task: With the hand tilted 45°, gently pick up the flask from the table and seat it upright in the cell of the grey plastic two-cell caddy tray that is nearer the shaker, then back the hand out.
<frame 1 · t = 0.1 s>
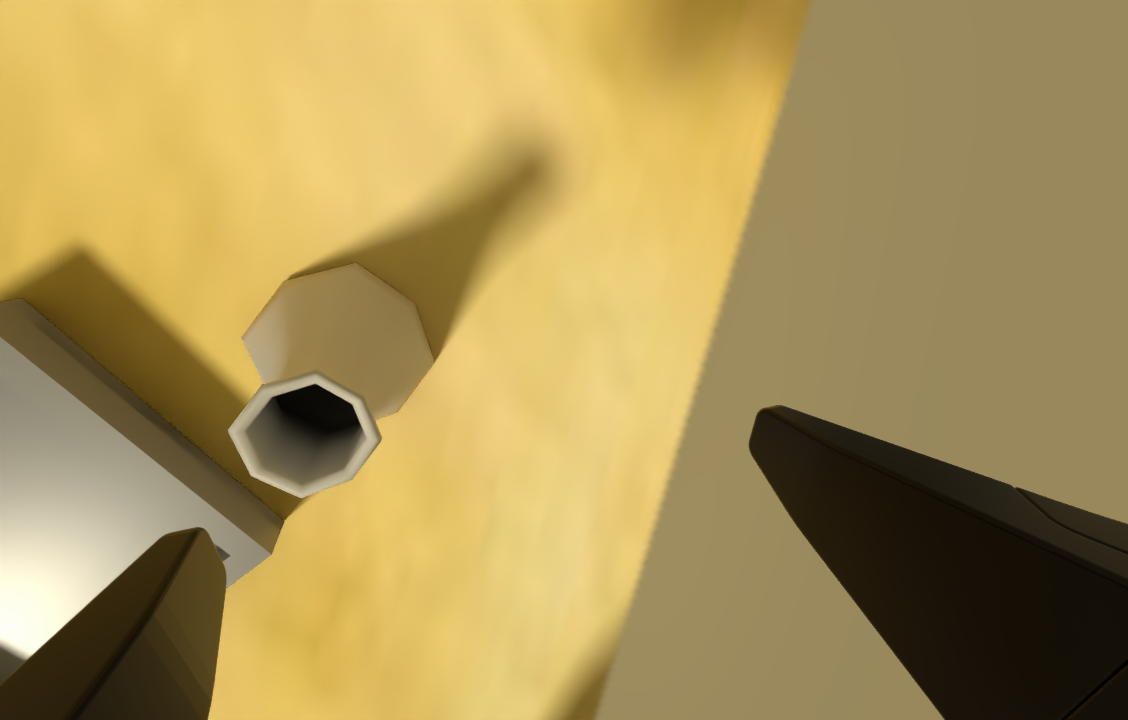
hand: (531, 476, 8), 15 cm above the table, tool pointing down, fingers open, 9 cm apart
flask: (345, 348, 21), on the table
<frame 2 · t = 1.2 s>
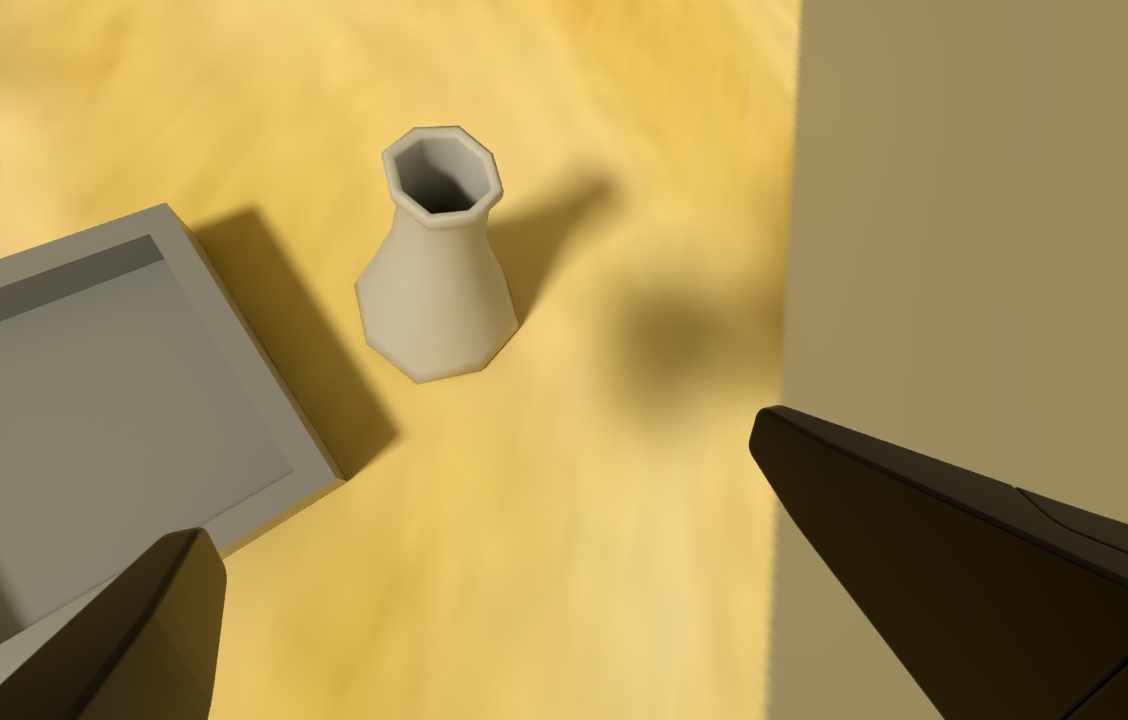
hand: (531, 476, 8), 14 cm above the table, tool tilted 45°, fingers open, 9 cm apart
flask: (439, 310, 22), on the table
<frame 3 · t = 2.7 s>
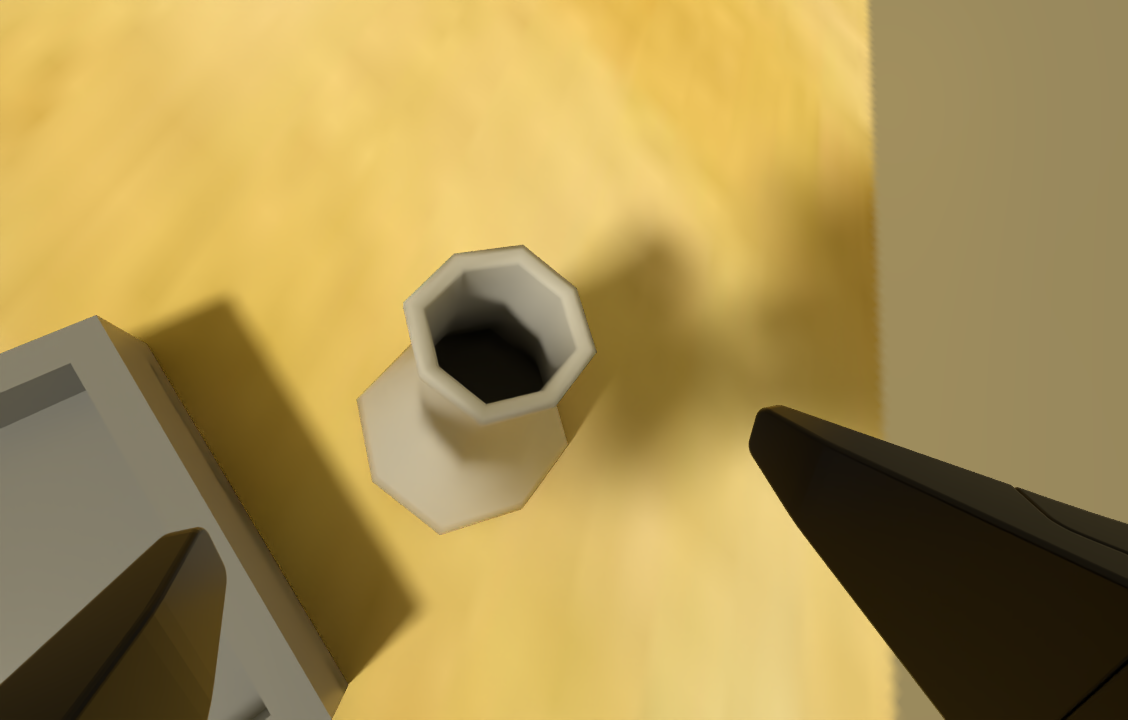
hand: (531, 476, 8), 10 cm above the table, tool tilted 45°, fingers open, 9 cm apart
flask: (465, 425, 17), on the table
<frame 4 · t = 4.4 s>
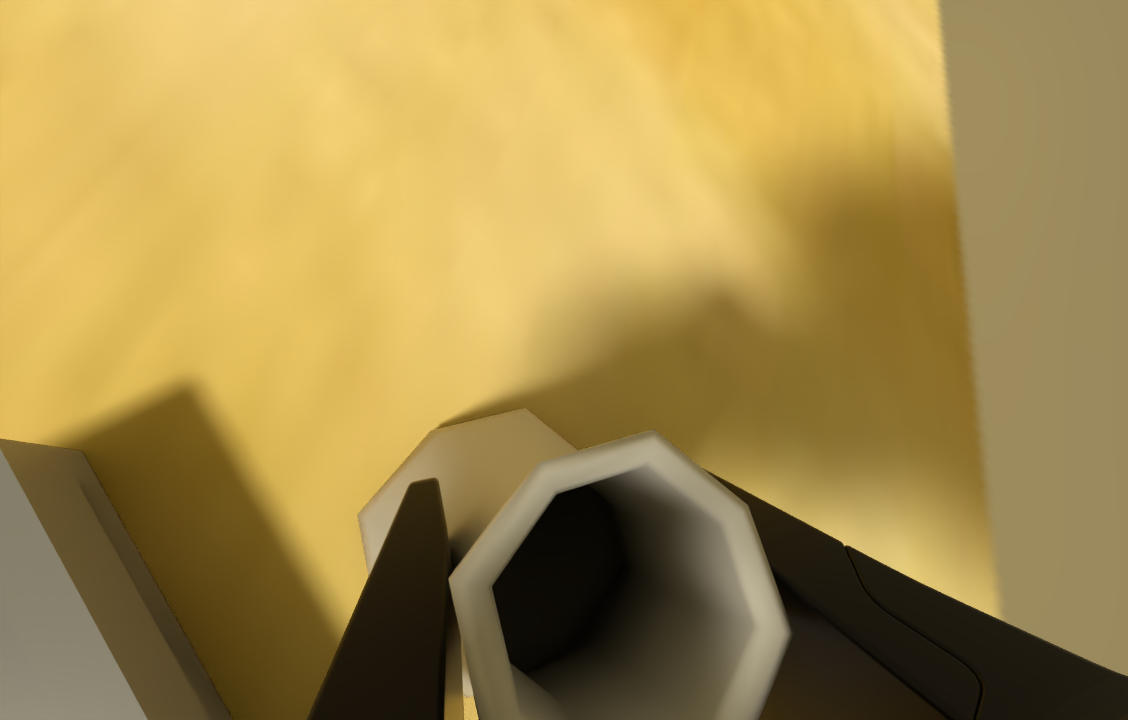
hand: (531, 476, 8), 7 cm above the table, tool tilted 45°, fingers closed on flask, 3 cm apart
flask: (496, 537, 14), on the table, touching gripper
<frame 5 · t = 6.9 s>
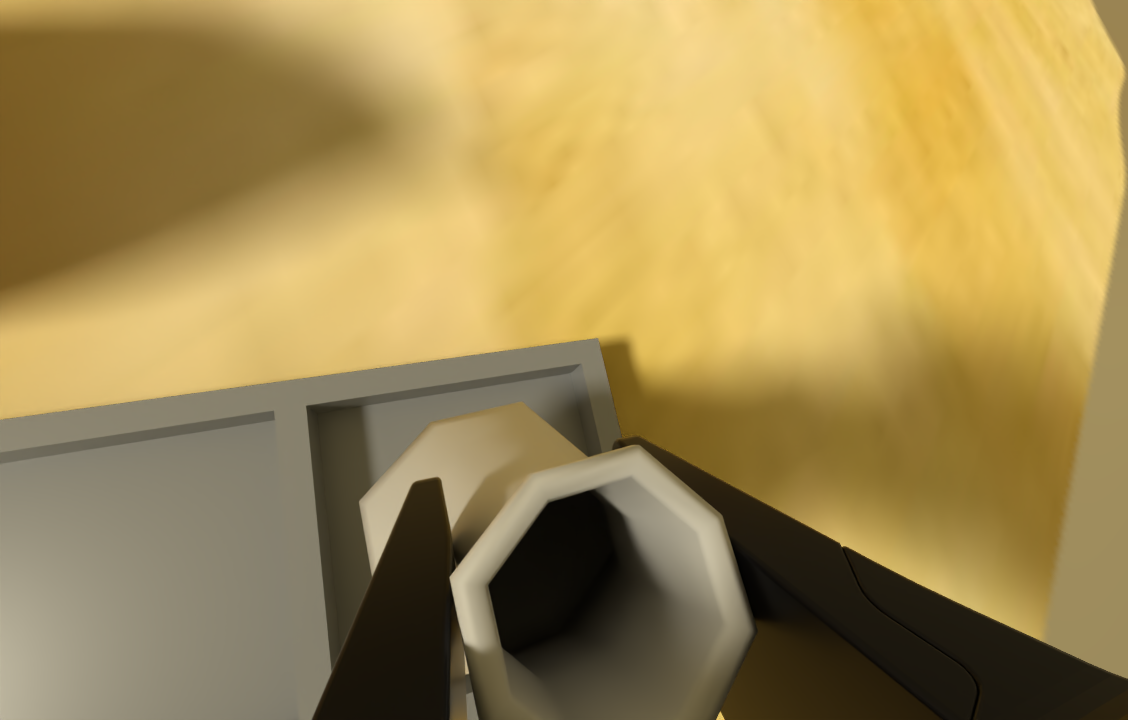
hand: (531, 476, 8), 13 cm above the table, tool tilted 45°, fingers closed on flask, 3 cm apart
flask: (491, 525, 14), point 6 cm above the table, touching gripper
caddy tray: (320, 555, 18), on the table
when the fingers open (9 cm above the table, at t = 8.4 s): flask stays where it is, resting on caddy tray.
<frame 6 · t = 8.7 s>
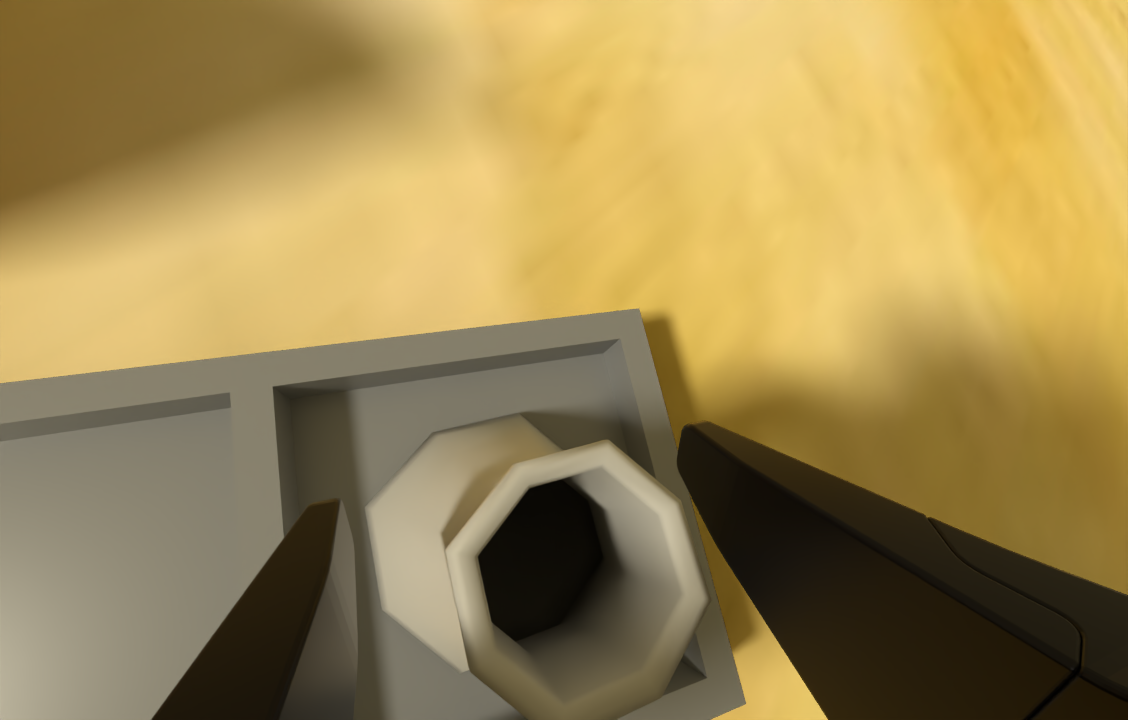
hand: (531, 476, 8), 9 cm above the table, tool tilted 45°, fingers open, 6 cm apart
flask: (490, 530, 15), point 1 cm above the table, touching caddy tray
caddy tray: (292, 580, 14), on the table
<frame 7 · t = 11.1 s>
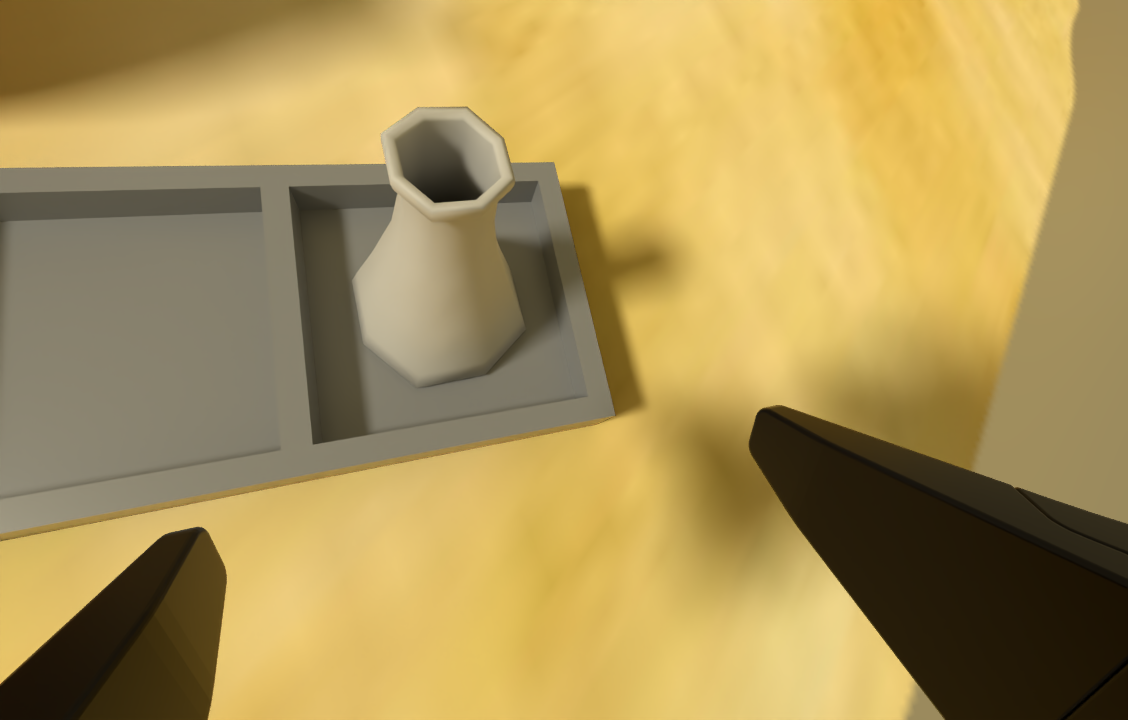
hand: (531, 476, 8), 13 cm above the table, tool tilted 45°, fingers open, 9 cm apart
flask: (441, 310, 21), point 1 cm above the table, touching caddy tray
caddy tray: (302, 330, 20), on the table
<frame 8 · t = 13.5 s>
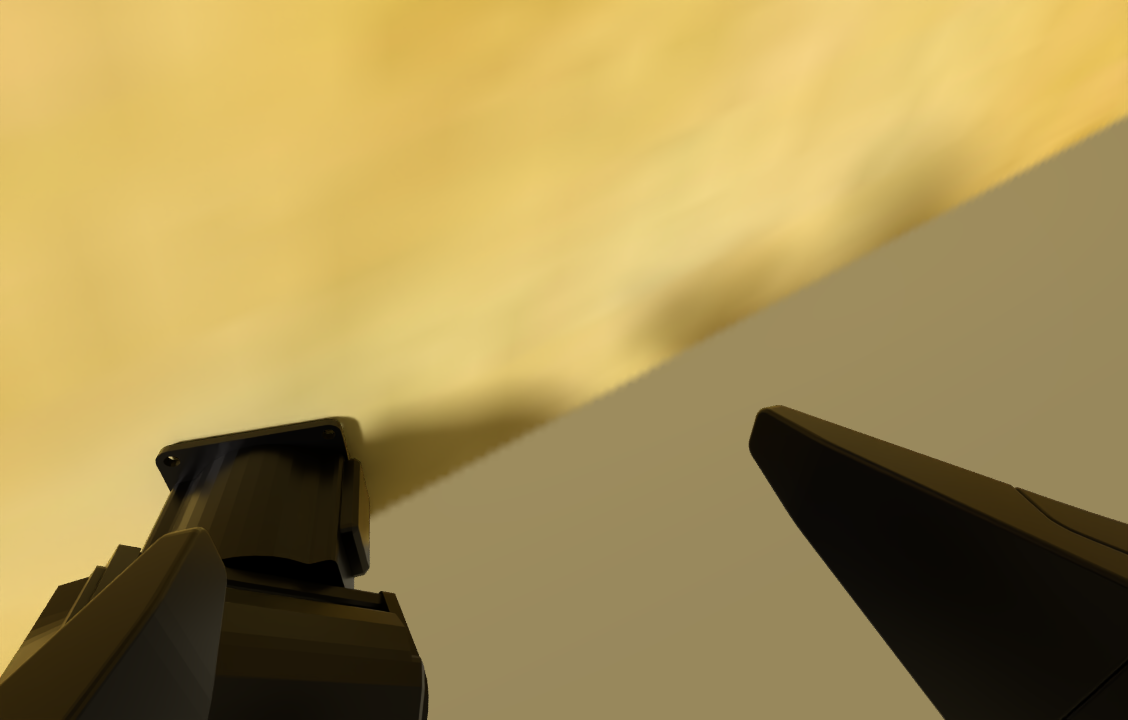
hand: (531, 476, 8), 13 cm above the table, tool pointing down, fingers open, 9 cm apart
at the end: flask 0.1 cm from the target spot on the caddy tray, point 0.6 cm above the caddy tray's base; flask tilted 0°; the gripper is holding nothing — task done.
